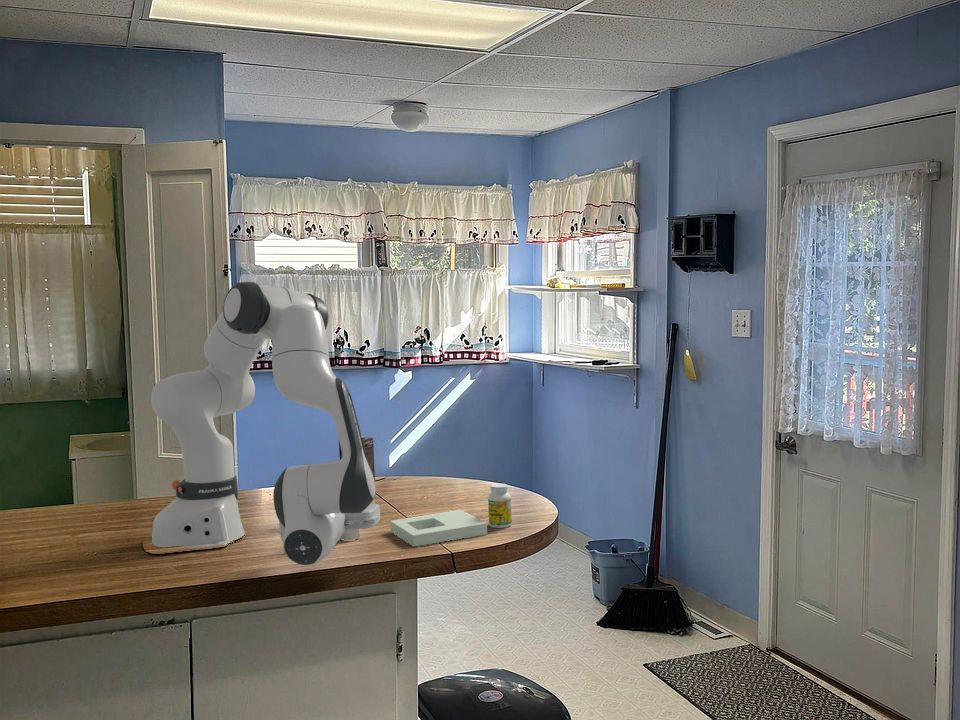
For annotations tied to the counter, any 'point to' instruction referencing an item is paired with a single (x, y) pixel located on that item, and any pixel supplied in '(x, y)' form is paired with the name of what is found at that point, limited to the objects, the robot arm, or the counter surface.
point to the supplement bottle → (499, 506)
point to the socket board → (438, 527)
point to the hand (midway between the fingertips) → (337, 506)
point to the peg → (350, 534)
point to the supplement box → (369, 452)
